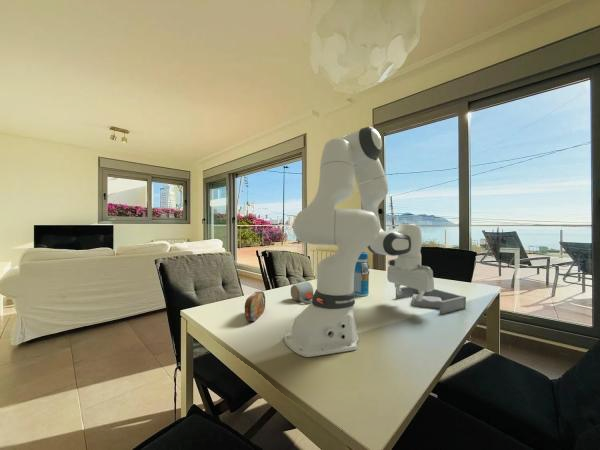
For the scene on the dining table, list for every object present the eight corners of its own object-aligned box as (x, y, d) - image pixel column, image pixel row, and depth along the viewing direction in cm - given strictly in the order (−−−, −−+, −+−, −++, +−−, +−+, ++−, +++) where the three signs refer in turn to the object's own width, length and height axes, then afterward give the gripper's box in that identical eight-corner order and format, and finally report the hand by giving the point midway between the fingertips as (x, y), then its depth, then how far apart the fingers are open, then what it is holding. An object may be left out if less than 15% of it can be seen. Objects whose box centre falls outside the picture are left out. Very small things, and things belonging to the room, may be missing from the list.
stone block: (410, 304, 118) (411, 306, 109) (411, 293, 119) (412, 294, 110) (440, 308, 114) (444, 311, 105) (440, 296, 115) (444, 298, 106)
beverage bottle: (349, 295, 124) (350, 253, 124) (352, 290, 132) (352, 251, 132) (368, 297, 121) (368, 254, 121) (369, 292, 129) (370, 251, 129)
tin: (251, 325, 89) (251, 300, 89) (242, 324, 90) (242, 299, 89) (266, 310, 104) (266, 288, 104) (258, 309, 104) (258, 288, 104)
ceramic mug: (289, 299, 118) (289, 282, 118) (304, 296, 123) (304, 279, 122) (302, 306, 109) (302, 287, 109) (318, 302, 114) (318, 285, 113)
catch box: (442, 314, 101) (442, 302, 100) (395, 298, 120) (395, 288, 120) (465, 307, 108) (465, 296, 108) (418, 293, 127) (418, 284, 127)
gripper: (438, 266, 98) (437, 303, 98) (395, 259, 117) (395, 291, 117) (426, 267, 96) (426, 305, 96) (384, 260, 114) (384, 292, 114)
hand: (408, 297), depth 106 cm, fingers open, 8 cm apart
